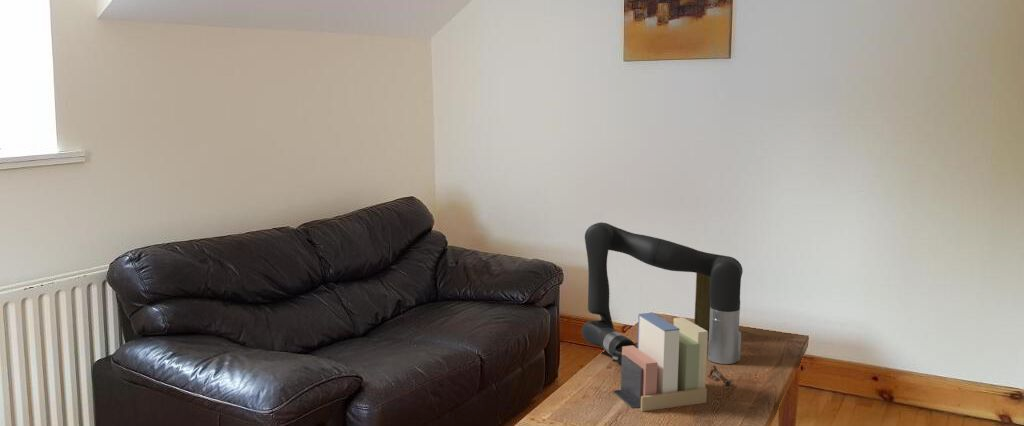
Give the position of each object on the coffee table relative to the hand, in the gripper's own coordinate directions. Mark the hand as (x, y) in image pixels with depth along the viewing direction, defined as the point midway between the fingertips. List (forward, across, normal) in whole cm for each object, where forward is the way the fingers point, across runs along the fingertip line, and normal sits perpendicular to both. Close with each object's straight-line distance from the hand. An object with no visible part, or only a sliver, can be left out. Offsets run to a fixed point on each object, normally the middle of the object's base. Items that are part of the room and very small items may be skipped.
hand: (644, 364), depth 252 cm
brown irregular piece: (+5, +22, +6) cm, 24 cm away
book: (-38, +42, +6) cm, 57 cm away
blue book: (+8, 0, +6) cm, 10 cm away
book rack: (+9, +1, +6) cm, 11 cm away
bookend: (+9, -9, +6) cm, 14 cm away
